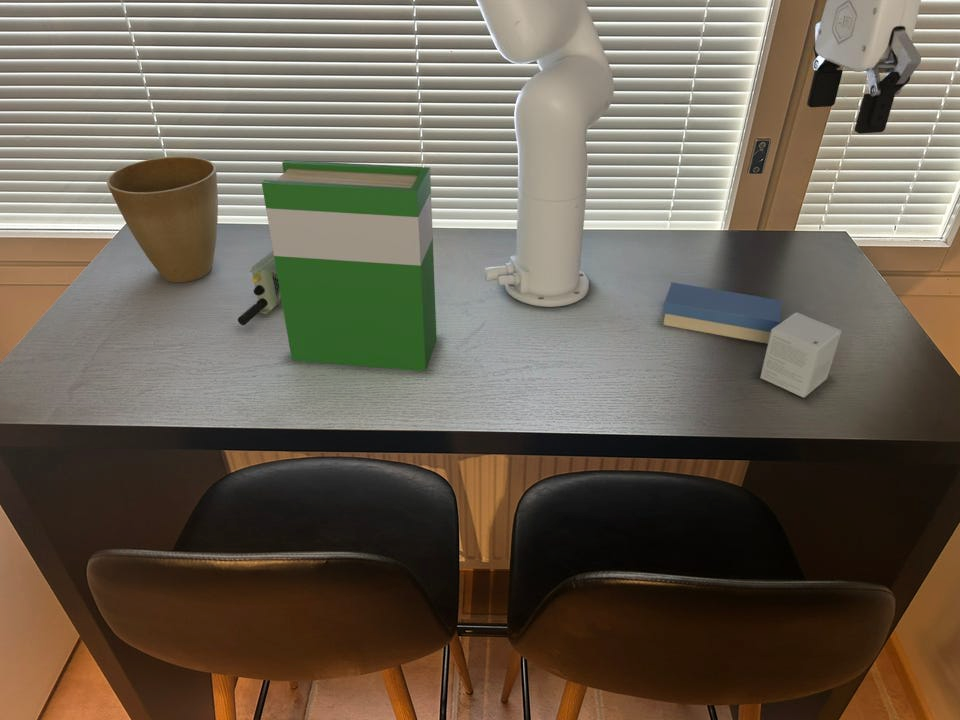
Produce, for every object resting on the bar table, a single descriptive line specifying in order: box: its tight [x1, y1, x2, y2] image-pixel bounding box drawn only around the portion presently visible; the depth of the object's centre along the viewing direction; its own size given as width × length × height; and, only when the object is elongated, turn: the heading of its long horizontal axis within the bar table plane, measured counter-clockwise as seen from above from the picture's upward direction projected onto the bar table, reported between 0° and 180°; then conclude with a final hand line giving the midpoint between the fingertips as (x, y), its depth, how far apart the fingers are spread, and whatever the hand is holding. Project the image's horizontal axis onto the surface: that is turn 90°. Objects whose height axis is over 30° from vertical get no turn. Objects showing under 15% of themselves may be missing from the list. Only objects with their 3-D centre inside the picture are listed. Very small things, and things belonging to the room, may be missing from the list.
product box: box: [759, 311, 842, 398], centre depth 93 cm, size 6×6×7 cm
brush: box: [662, 281, 783, 345], centre depth 104 cm, size 15×6×4 cm, turn 70°
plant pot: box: [106, 155, 219, 283], centre depth 114 cm, size 15×15×16 cm
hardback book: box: [261, 159, 438, 372], centre depth 93 cm, size 18×7×24 cm, turn 82°
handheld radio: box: [237, 250, 282, 326], centre depth 112 cm, size 7×3×25 cm
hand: (843, 118), depth 85 cm, fingers open, 9 cm apart
